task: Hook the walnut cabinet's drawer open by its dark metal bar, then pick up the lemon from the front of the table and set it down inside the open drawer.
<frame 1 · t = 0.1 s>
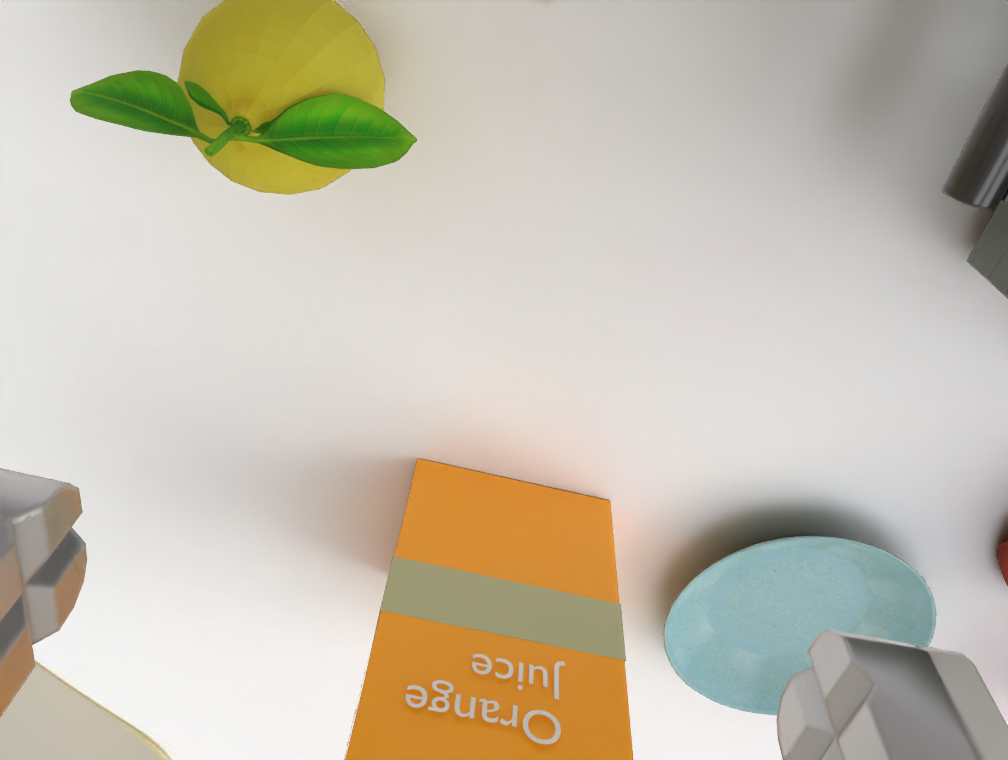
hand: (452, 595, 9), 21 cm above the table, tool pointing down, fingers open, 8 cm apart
orange juice: (495, 538, 37), on the table
lemon: (315, 67, 26), on the table
saucer: (783, 594, 38), on the table
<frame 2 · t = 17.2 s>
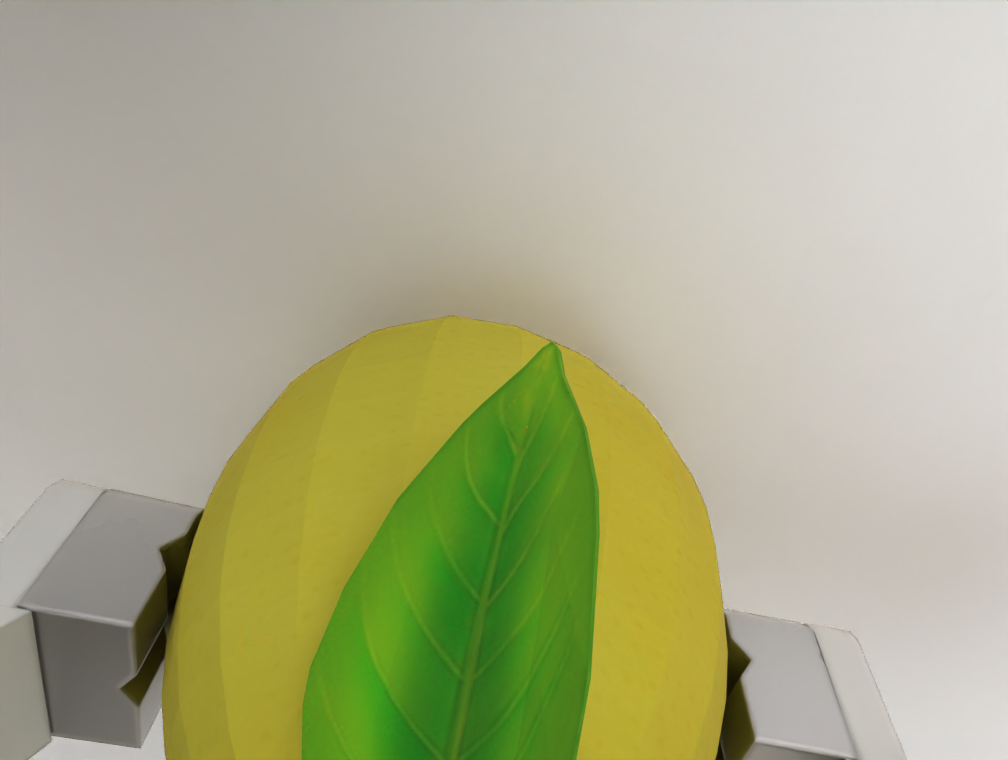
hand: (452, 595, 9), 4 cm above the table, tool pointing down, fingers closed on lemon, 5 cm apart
lemon: (488, 405, 12), on the table, touching gripper
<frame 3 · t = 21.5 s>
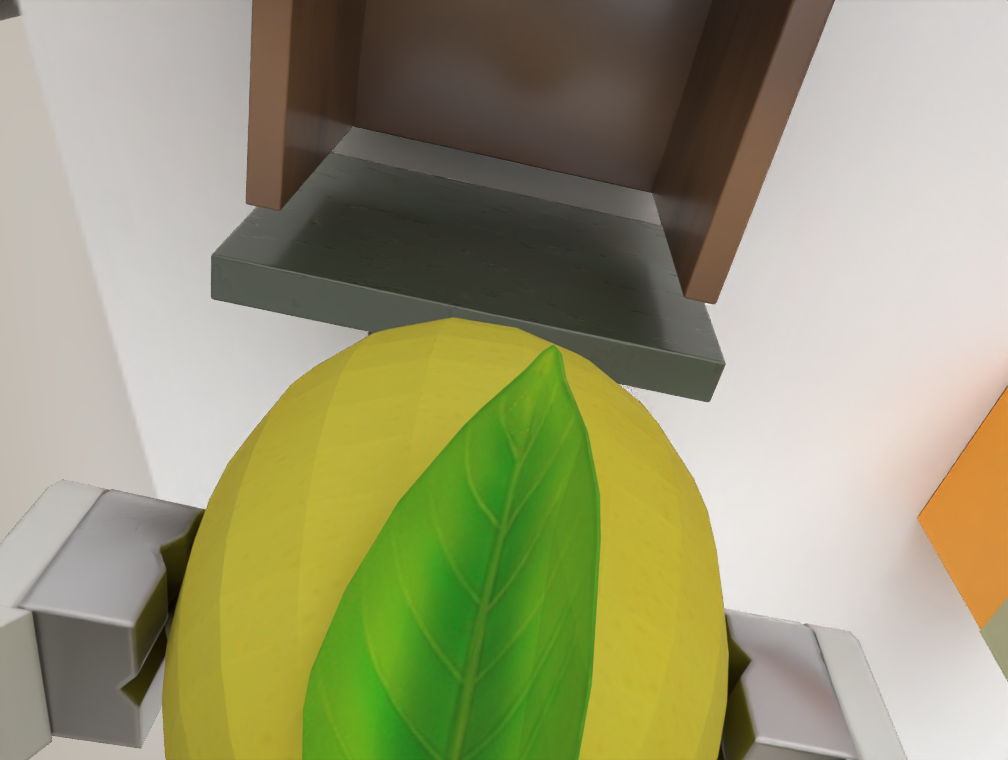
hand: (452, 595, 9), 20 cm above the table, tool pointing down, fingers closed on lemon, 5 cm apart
lemon: (489, 406, 12), point 16 cm above the table, touching gripper
drawer: (514, 111, 21), point 5 cm above the table, slide at 9.1 cm
when the fingers open (9 cm above the table, at t = 26.0 s): lemon stays where it is, resting on cabinet, drawer.
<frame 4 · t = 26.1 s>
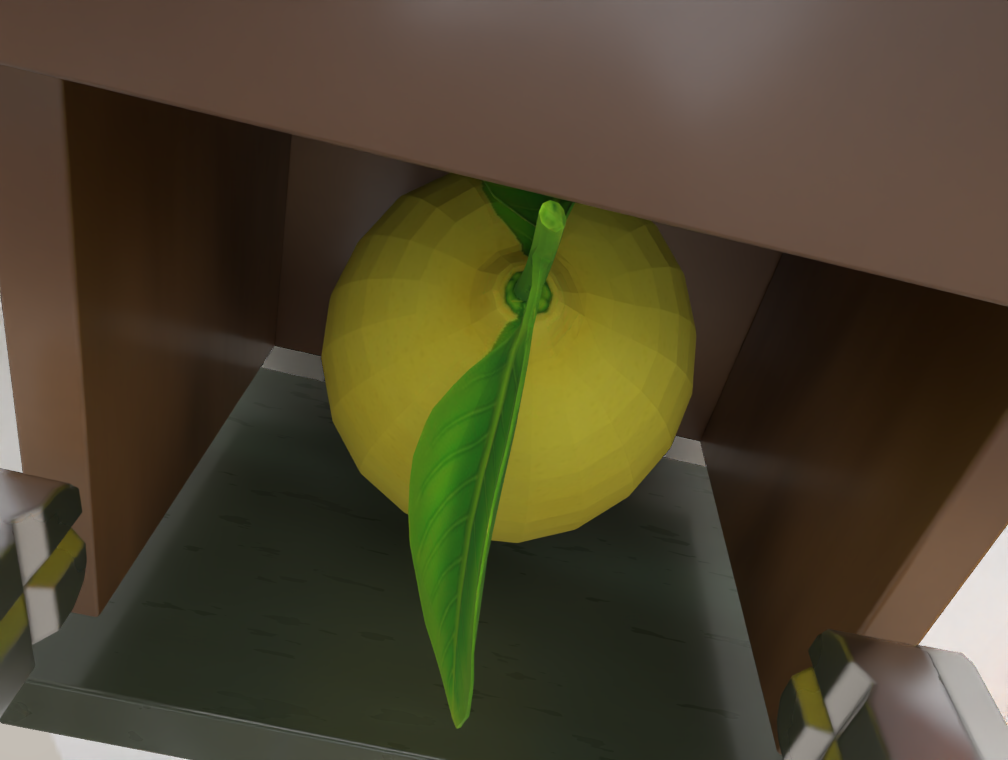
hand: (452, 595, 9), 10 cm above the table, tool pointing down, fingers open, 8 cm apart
lemon: (495, 401, 16), point 3 cm above the table, touching cabinet, drawer
drawer: (503, 388, 13), point 5 cm above the table, slide at 8.6 cm, touching lemon
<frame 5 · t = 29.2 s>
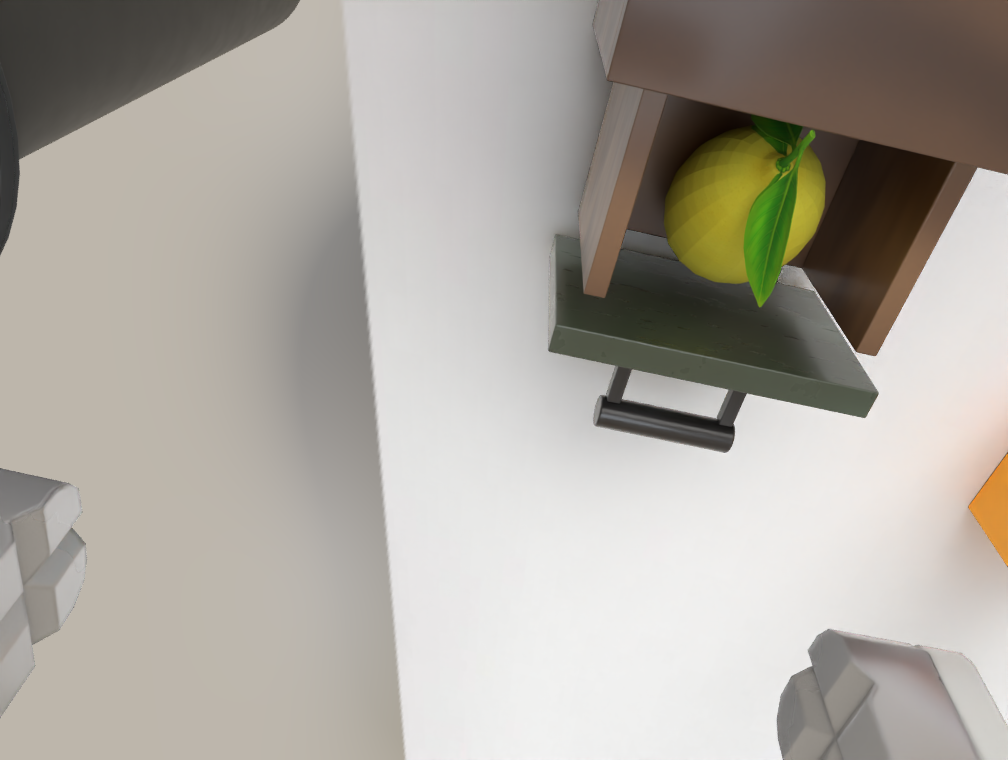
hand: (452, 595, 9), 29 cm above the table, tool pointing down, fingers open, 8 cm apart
lemon: (709, 244, 34), point 3 cm above the table, touching cabinet, drawer
drawer: (732, 224, 31), point 5 cm above the table, slide at 8.7 cm, touching lemon
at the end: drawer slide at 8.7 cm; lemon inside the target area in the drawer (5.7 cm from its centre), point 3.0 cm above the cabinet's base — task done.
